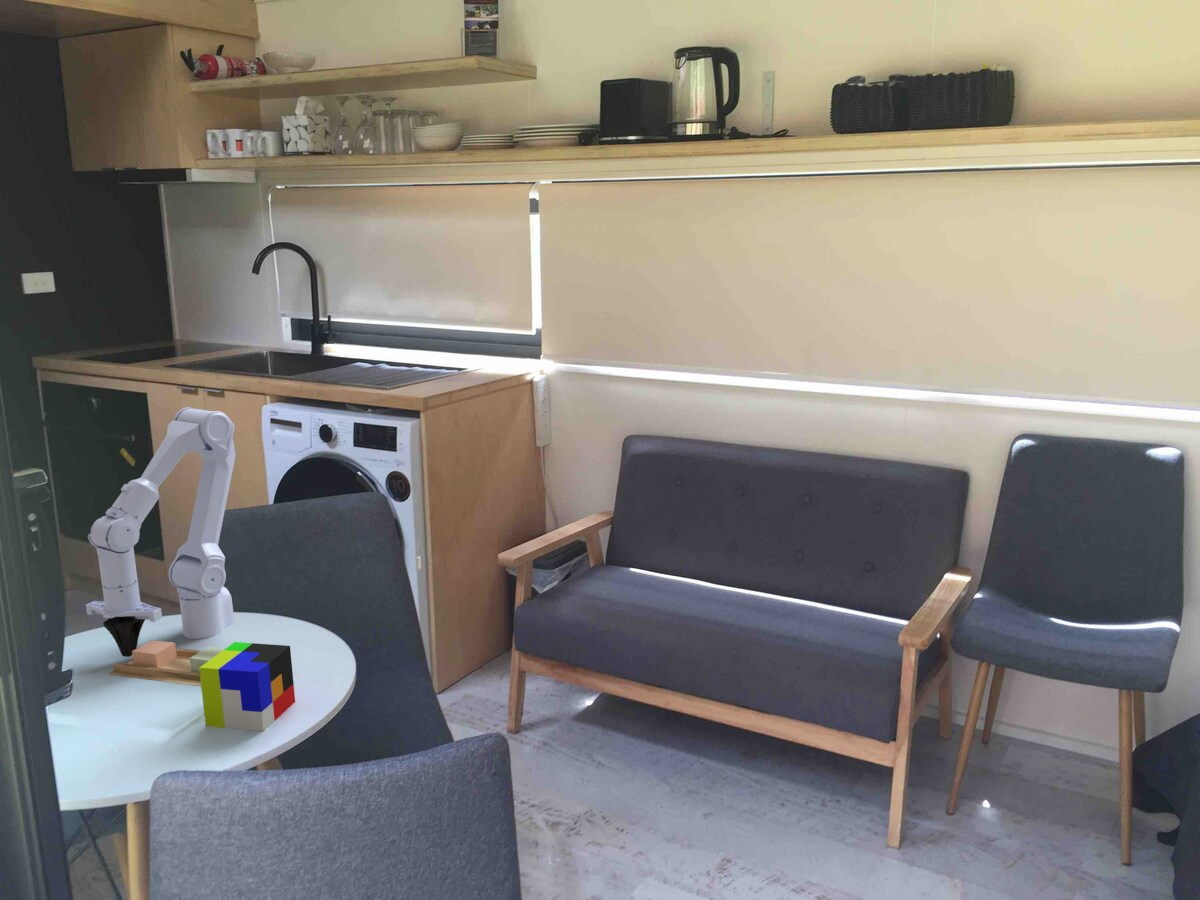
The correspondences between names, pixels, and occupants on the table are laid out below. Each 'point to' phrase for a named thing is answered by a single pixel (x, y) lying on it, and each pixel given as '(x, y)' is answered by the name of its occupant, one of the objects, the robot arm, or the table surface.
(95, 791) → the table surface
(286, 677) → the puzzle toy
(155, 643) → the peach pink cube
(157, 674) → the oak channel board
